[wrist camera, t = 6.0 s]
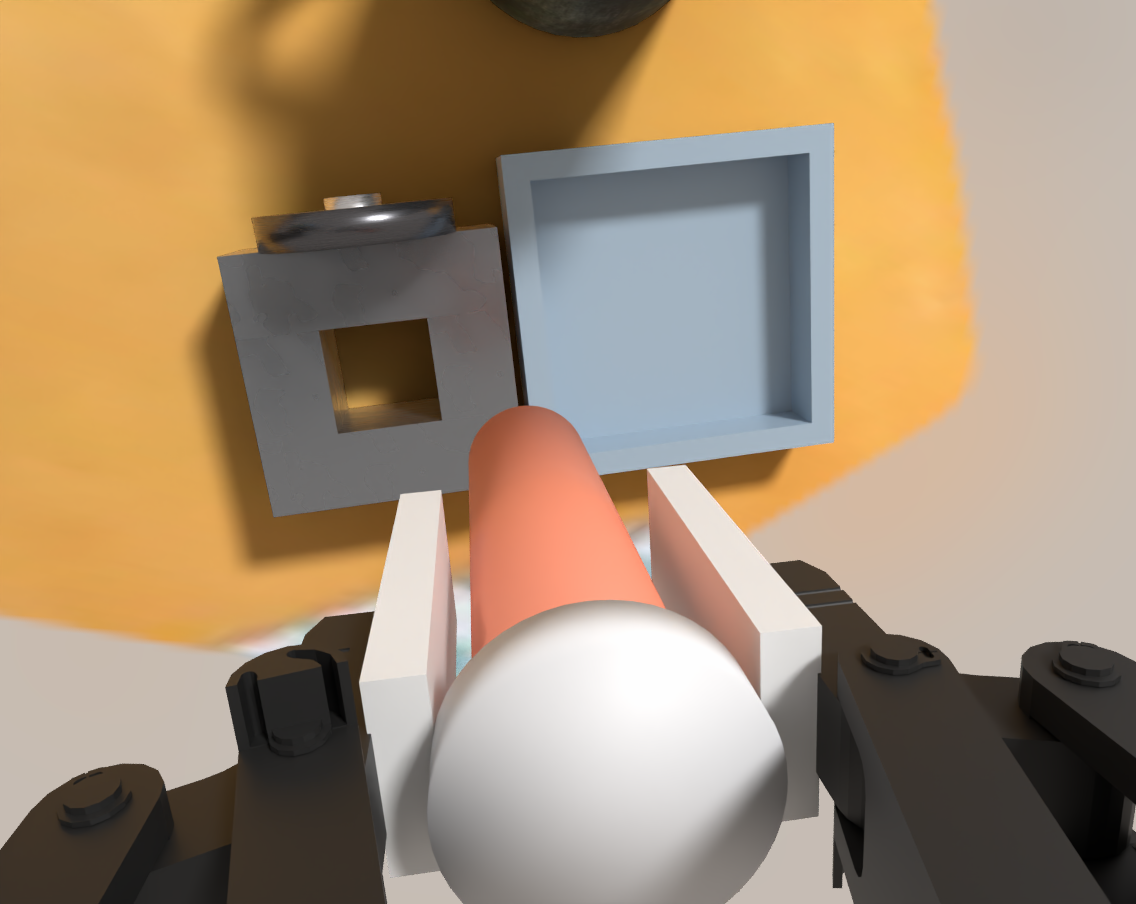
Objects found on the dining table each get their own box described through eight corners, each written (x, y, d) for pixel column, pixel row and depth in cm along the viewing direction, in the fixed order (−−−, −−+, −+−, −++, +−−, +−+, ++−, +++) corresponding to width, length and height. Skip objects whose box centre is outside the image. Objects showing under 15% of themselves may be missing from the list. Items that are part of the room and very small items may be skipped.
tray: (530, 462, 38) (538, 483, 35) (495, 158, 34) (500, 155, 31) (805, 424, 40) (834, 442, 37) (802, 128, 36) (833, 123, 33)
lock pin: (457, 543, 22) (448, 976, 10) (440, 393, 21) (405, 667, 9) (609, 527, 22) (787, 924, 10) (600, 378, 21) (788, 621, 9)
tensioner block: (290, 484, 37) (255, 553, 30) (233, 208, 33) (177, 212, 26) (518, 453, 38) (536, 512, 31) (485, 182, 34) (498, 180, 27)
